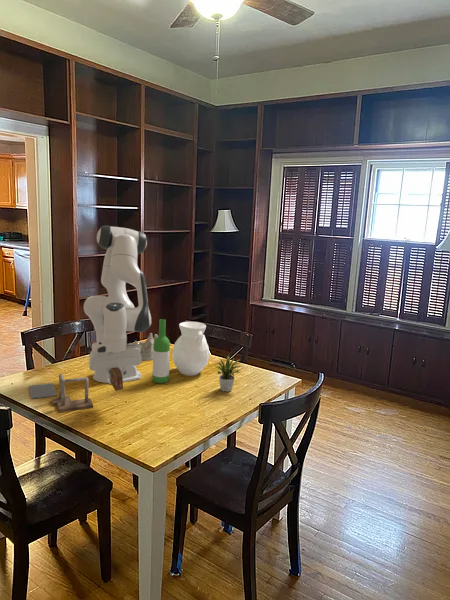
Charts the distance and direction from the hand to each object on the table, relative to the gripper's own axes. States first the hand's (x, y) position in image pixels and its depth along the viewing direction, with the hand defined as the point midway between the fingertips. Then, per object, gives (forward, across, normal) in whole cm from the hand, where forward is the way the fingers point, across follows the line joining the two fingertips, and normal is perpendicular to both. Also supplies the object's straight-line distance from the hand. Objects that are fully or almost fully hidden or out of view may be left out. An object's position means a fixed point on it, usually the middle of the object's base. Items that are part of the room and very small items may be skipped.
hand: (115, 377), depth 179 cm
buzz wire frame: (+13, +15, -9) cm, 22 cm away
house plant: (+15, -51, -2) cm, 53 cm away
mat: (+13, +26, -27) cm, 39 cm away
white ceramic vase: (+15, -44, -30) cm, 56 cm away
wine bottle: (+15, -26, -23) cm, 38 cm away
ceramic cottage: (+16, -30, -62) cm, 71 cm away
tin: (+4, -1, 0) cm, 4 cm away
